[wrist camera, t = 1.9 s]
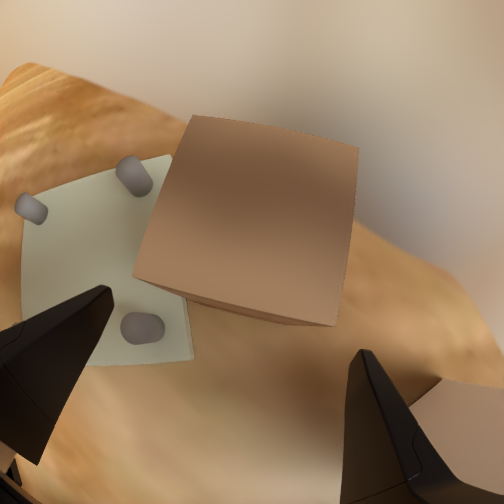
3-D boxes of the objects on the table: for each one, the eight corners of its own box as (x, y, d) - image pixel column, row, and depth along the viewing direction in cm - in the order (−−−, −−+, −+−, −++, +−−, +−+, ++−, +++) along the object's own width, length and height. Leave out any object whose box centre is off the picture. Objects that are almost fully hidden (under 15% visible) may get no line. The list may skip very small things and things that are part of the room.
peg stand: (195, 358, 19) (180, 366, 15) (35, 363, 18) (4, 365, 14) (173, 161, 23) (160, 132, 19) (34, 202, 22) (9, 186, 18)
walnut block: (286, 324, 20) (335, 326, 7) (203, 305, 20) (131, 276, 8) (303, 245, 21) (358, 147, 9) (224, 227, 21) (192, 115, 9)
